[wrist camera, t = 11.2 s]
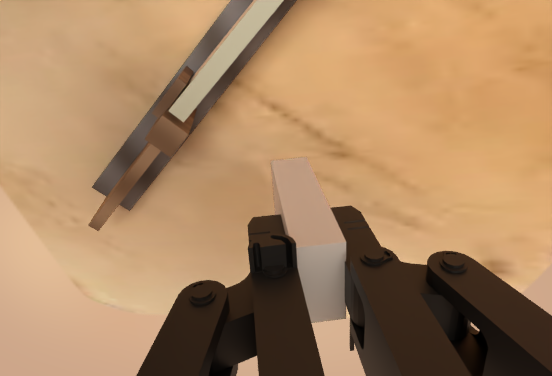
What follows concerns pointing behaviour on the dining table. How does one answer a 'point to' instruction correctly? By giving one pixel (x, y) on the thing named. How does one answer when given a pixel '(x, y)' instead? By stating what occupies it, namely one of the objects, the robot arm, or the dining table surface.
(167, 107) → the fence
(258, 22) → the beige flat panel
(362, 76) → the dining table surface
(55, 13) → the dining table surface
